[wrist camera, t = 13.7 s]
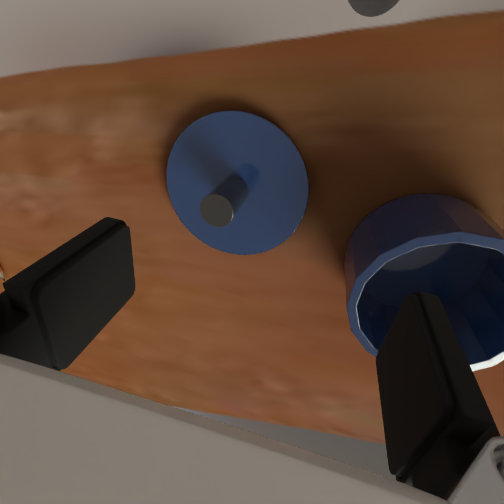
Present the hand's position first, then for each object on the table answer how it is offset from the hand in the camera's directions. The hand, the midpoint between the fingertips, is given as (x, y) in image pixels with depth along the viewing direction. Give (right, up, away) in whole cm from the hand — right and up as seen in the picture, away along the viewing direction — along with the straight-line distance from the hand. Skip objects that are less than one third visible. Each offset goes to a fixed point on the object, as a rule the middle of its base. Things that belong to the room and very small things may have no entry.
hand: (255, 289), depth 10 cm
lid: (-2, +8, +21) cm, 22 cm away
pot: (+16, +1, +21) cm, 26 cm away
